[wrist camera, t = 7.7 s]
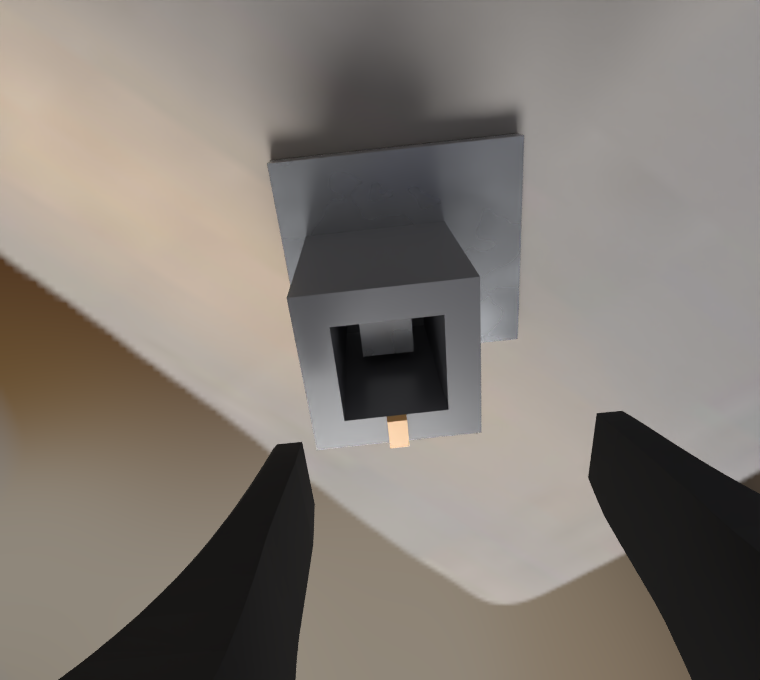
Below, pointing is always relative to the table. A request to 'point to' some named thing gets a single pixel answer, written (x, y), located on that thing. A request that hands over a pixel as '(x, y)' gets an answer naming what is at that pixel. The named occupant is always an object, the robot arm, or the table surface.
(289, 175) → the plate
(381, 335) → the grey square post
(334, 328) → the hollow square housing
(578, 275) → the table surface
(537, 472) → the table surface
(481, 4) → the table surface
